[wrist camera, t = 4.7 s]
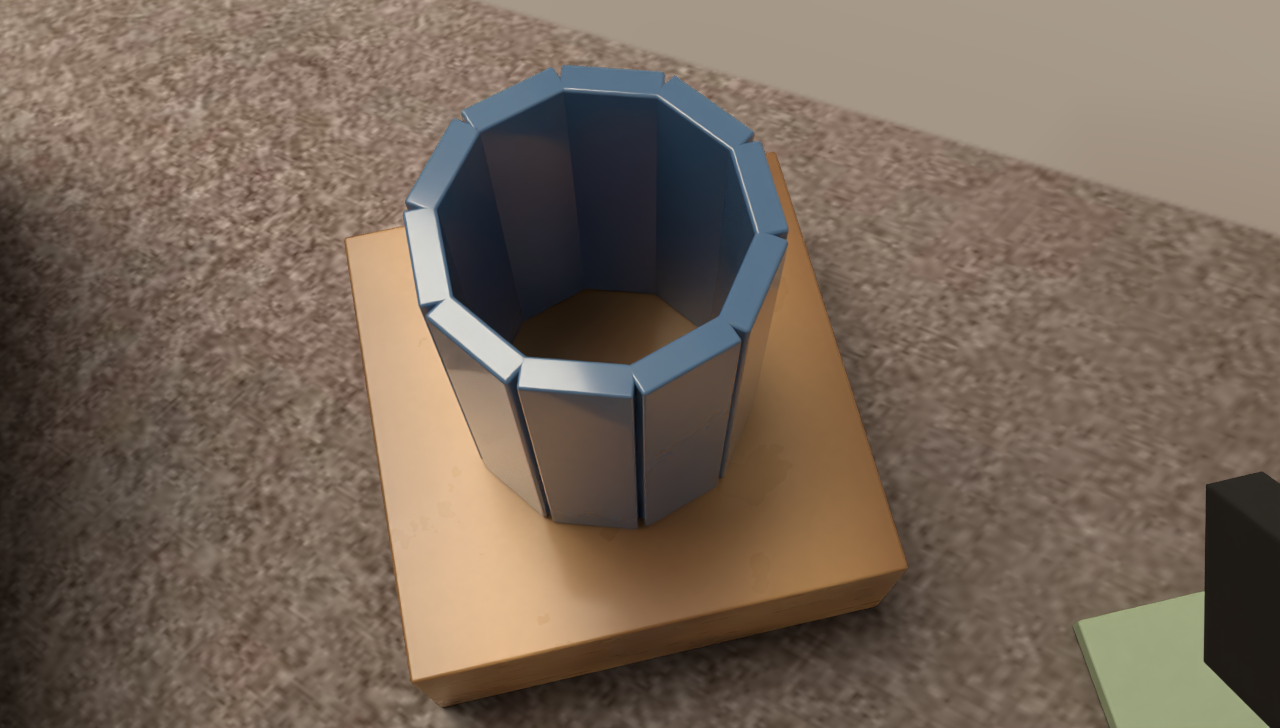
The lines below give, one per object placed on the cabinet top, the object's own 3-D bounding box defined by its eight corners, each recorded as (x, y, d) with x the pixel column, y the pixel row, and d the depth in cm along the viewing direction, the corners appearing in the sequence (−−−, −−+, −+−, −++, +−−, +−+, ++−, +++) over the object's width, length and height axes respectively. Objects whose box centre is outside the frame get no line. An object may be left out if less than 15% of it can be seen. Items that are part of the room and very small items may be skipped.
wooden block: (762, 228, 34) (775, 150, 31) (878, 606, 30) (909, 568, 26) (377, 307, 33) (343, 236, 30) (440, 708, 29) (410, 683, 26)
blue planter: (708, 242, 30) (727, 31, 22) (781, 497, 27) (829, 354, 20) (449, 295, 29) (381, 98, 22) (499, 560, 27) (441, 439, 19)
